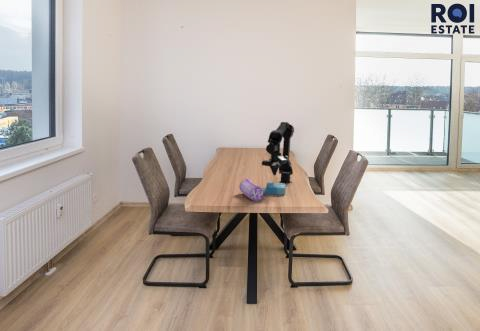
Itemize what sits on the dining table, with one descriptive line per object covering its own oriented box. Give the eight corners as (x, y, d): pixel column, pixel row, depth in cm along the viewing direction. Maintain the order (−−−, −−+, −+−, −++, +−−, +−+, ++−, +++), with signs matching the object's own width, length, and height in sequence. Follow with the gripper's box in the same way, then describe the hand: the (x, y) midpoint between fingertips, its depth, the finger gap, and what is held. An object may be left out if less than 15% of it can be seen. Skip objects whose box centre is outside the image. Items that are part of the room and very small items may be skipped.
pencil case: (265, 201, 258) (265, 185, 256) (250, 202, 254) (251, 186, 253) (251, 192, 278) (251, 178, 276) (237, 193, 275) (237, 178, 273)
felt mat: (263, 187, 291) (263, 187, 291) (281, 192, 279) (281, 192, 279) (250, 190, 283) (250, 190, 283) (267, 195, 271) (267, 194, 271)
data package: (285, 183, 283) (285, 188, 272) (284, 190, 284) (285, 195, 273) (266, 182, 284) (266, 186, 273) (266, 189, 285) (265, 193, 274)
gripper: (274, 154, 270) (273, 179, 272) (294, 151, 282) (293, 175, 284) (261, 151, 278) (260, 176, 281) (282, 149, 290) (281, 172, 293)
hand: (274, 175), depth 284 cm, fingers closed
